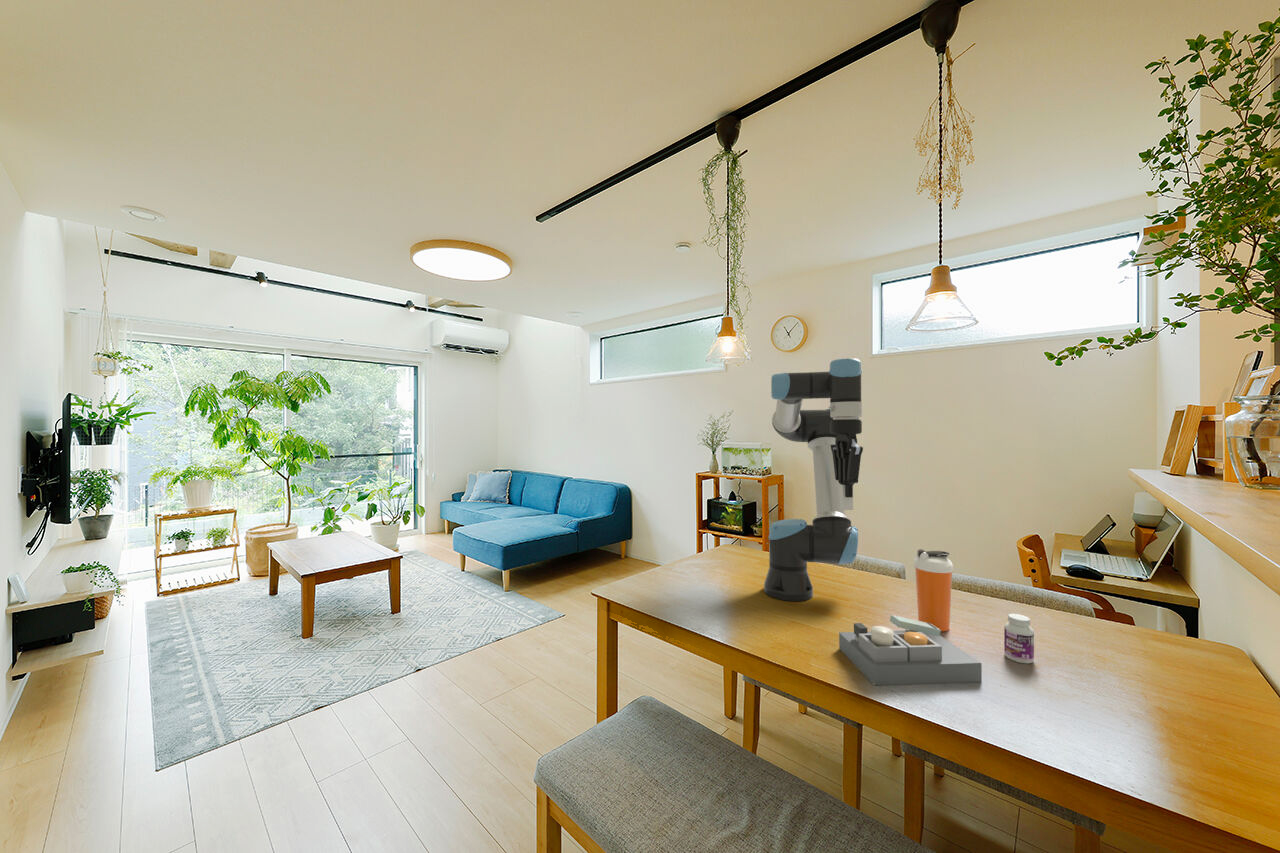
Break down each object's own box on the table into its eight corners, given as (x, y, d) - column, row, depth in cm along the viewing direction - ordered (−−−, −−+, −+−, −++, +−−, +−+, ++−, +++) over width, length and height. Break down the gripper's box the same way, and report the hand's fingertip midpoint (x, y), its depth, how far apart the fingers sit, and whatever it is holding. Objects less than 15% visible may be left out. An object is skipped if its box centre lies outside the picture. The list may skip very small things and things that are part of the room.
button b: (900, 645, 106) (899, 631, 106) (919, 644, 106) (918, 631, 106) (912, 654, 101) (911, 640, 101) (931, 654, 101) (931, 640, 101)
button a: (867, 639, 105) (867, 626, 105) (886, 639, 105) (886, 625, 105) (877, 649, 101) (877, 635, 101) (897, 648, 101) (897, 634, 101)
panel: (839, 648, 114) (839, 620, 114) (931, 646, 115) (931, 617, 115) (874, 685, 98) (874, 651, 98) (981, 681, 99) (981, 648, 99)
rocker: (889, 620, 112) (891, 614, 112) (929, 629, 112) (931, 622, 112) (898, 627, 108) (899, 620, 108) (939, 636, 109) (941, 629, 109)
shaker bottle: (960, 634, 121) (959, 557, 121) (921, 631, 123) (921, 555, 123) (944, 620, 130) (944, 548, 130) (909, 618, 131) (908, 546, 131)
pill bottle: (1003, 659, 108) (1003, 617, 108) (1005, 650, 112) (1004, 610, 112) (1034, 666, 105) (1033, 623, 105) (1034, 657, 109) (1034, 616, 109)
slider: (853, 633, 111) (853, 623, 111) (861, 633, 111) (861, 623, 111) (859, 638, 108) (859, 628, 108) (867, 638, 108) (867, 628, 108)
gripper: (820, 419, 128) (821, 505, 129) (843, 418, 115) (844, 514, 116) (847, 418, 129) (848, 504, 129) (873, 418, 116) (874, 513, 116)
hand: (846, 509), depth 122 cm, fingers closed
